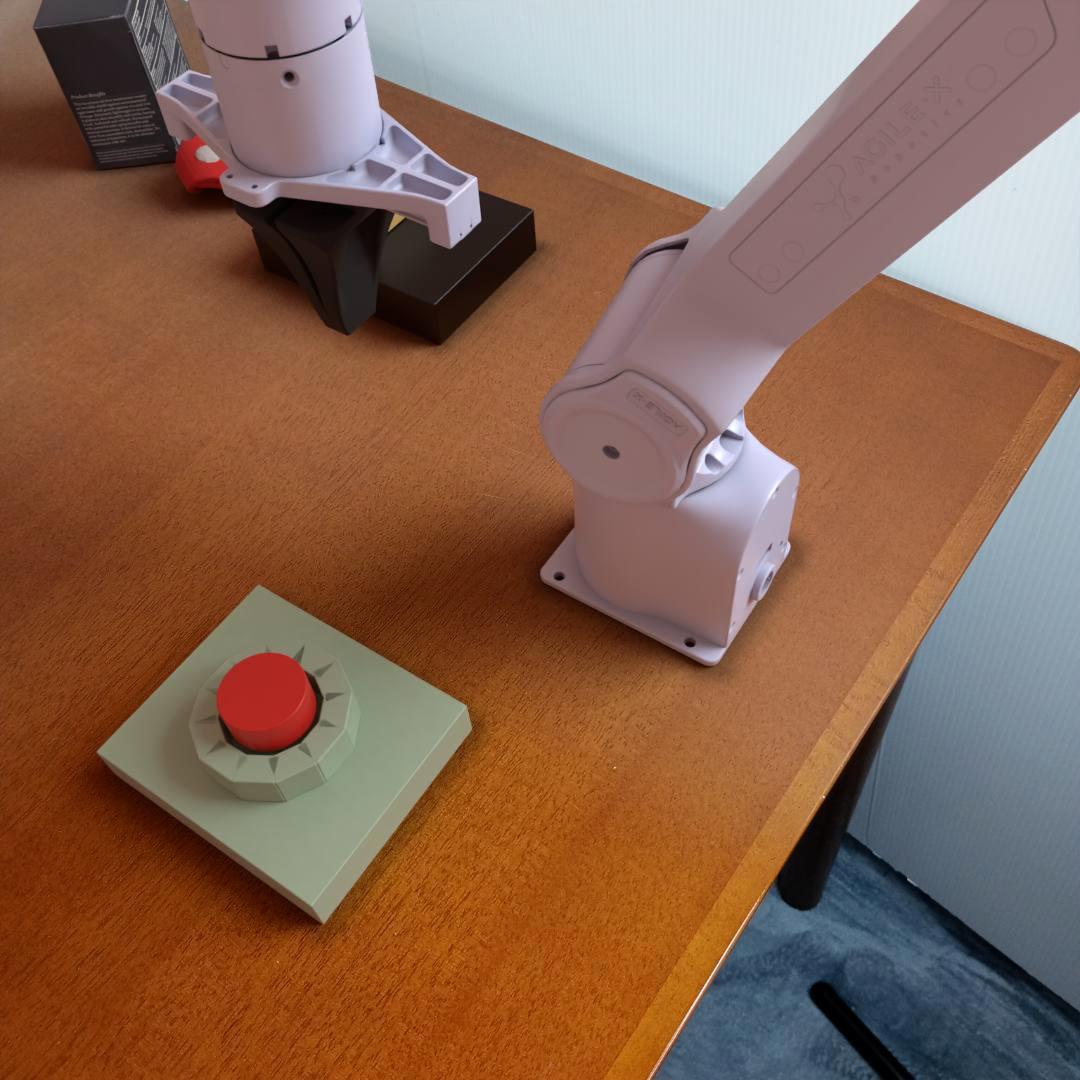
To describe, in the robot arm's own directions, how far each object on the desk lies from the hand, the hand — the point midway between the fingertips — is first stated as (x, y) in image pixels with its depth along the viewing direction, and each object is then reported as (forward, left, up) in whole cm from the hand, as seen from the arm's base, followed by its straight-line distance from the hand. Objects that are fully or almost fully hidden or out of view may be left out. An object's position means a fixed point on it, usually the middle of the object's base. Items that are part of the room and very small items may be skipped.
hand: (350, 318), depth 48 cm
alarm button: (-7, +15, -7) cm, 18 cm away
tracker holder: (+25, -18, -11) cm, 33 cm away
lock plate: (+10, -14, -10) cm, 20 cm away
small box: (+36, -17, -11) cm, 42 cm away
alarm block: (-7, +15, -10) cm, 19 cm away
